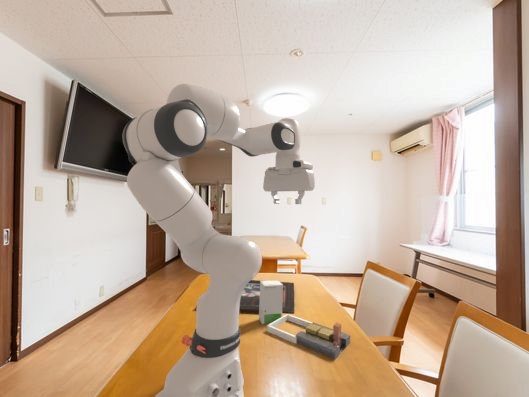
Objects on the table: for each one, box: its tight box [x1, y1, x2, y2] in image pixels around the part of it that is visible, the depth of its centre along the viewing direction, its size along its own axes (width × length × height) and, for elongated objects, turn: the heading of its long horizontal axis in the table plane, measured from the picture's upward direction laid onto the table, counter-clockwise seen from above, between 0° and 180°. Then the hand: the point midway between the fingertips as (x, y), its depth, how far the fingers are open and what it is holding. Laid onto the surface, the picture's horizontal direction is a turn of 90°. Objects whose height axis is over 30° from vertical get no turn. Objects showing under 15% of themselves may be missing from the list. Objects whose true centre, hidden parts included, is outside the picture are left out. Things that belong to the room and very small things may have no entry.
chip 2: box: [318, 328, 333, 343], centre depth 84 cm, size 4×4×4 cm
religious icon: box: [195, 279, 295, 315], centre depth 129 cm, size 40×45×3 cm
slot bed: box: [295, 321, 351, 360], centre depth 85 cm, size 12×14×4 cm
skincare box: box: [258, 280, 283, 325], centre depth 102 cm, size 8×7×16 cm
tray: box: [266, 313, 313, 344], centre depth 93 cm, size 13×12×3 cm
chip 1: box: [305, 322, 322, 337], centre depth 87 cm, size 4×4×4 cm
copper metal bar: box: [332, 322, 342, 347], centre depth 82 cm, size 4×2×7 cm, turn 141°
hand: (287, 203), depth 91 cm, fingers open, 8 cm apart
